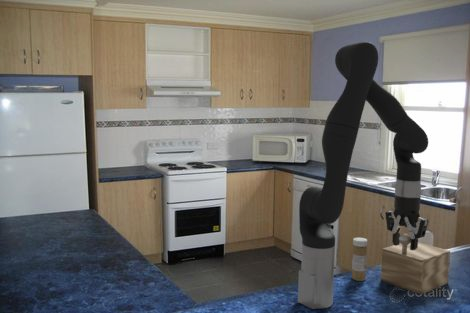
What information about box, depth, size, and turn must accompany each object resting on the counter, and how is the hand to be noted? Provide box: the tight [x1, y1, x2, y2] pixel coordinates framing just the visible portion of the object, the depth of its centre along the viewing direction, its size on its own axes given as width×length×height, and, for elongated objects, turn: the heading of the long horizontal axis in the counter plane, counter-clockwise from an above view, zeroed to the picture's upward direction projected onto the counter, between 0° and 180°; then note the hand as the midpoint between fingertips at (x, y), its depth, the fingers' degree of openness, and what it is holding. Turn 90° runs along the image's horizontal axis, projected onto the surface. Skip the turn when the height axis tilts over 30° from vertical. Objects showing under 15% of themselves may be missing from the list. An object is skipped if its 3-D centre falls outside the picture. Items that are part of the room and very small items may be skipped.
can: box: [418, 229, 434, 246], centre depth 171 cm, size 6×6×12 cm
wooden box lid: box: [381, 233, 451, 262], centre depth 151 cm, size 16×14×7 cm
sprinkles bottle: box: [351, 237, 369, 282], centre depth 154 cm, size 5×5×13 cm
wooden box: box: [380, 250, 451, 295], centre depth 152 cm, size 16×14×10 cm
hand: (404, 247), depth 148 cm, fingers open, 5 cm apart
